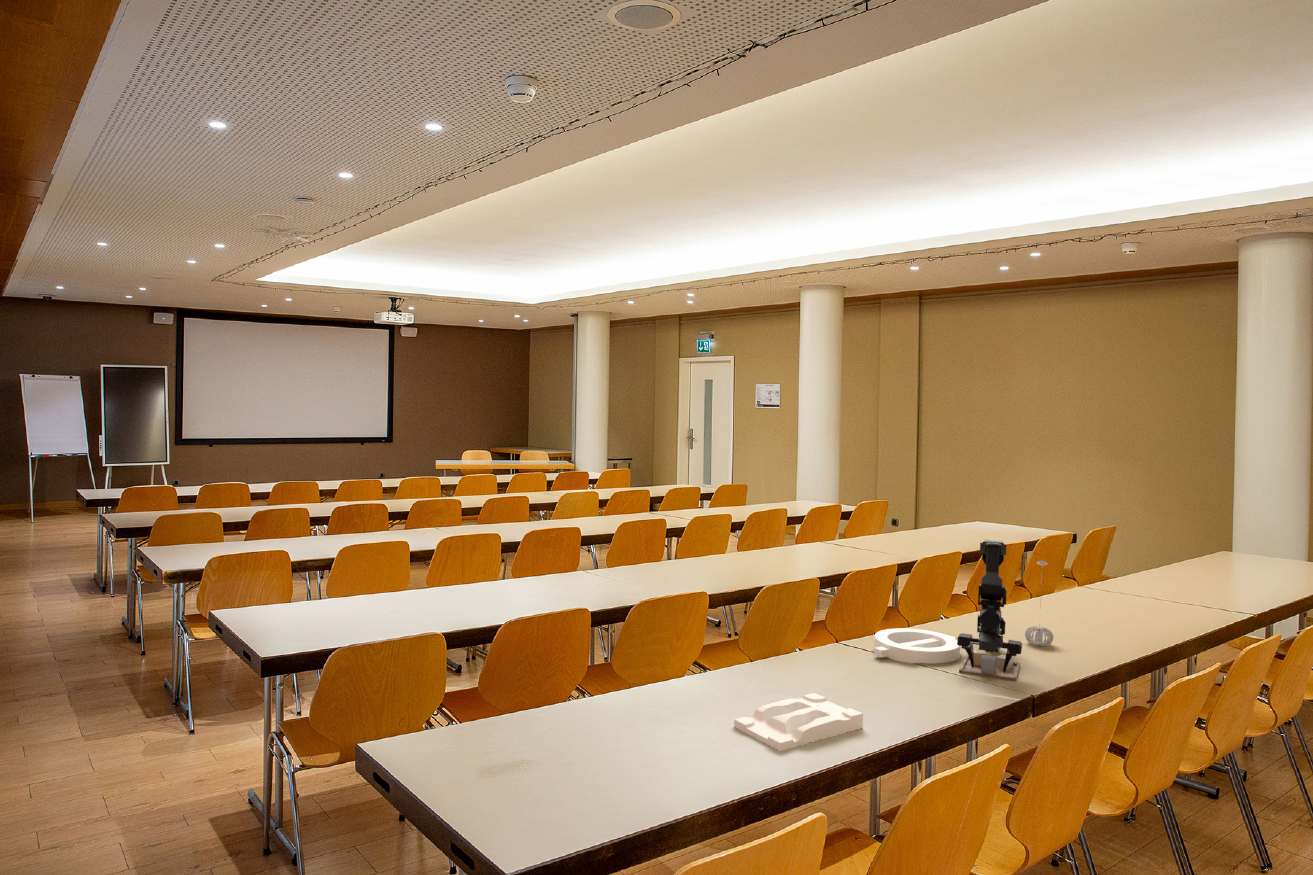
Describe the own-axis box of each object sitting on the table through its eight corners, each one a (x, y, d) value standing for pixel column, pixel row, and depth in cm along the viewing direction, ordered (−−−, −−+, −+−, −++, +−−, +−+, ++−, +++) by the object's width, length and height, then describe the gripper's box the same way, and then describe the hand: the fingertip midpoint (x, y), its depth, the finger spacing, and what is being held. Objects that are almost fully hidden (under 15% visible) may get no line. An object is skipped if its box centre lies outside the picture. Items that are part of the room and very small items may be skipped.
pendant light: (1056, 649, 295) (1059, 564, 294) (1028, 647, 297) (1031, 563, 296) (1049, 641, 304) (1052, 559, 303) (1022, 639, 306) (1025, 558, 305)
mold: (863, 730, 218) (863, 712, 218) (780, 753, 202) (781, 734, 202) (813, 708, 234) (814, 692, 233) (733, 728, 217) (733, 711, 217)
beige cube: (1002, 664, 274) (1002, 654, 274) (1012, 667, 271) (1013, 656, 271) (995, 667, 271) (996, 656, 271) (1006, 670, 268) (1007, 659, 268)
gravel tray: (966, 658, 281) (966, 655, 281) (1019, 666, 273) (1019, 663, 273) (958, 673, 265) (959, 670, 265) (1015, 682, 257) (1015, 678, 257)
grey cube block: (982, 669, 268) (983, 654, 268) (995, 671, 266) (996, 656, 266) (980, 674, 263) (981, 658, 263) (994, 676, 262) (994, 660, 261)
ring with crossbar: (956, 645, 298) (956, 632, 297) (962, 669, 271) (963, 655, 270) (874, 638, 305) (875, 625, 305) (873, 660, 278) (873, 646, 278)
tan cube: (969, 661, 277) (970, 649, 277) (984, 662, 276) (984, 650, 276) (971, 664, 273) (972, 652, 273) (986, 665, 272) (986, 653, 272)
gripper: (955, 623, 261) (953, 672, 262) (1020, 631, 253) (1018, 682, 253) (960, 615, 271) (958, 662, 272) (1023, 623, 263) (1021, 672, 263)
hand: (988, 670), depth 265 cm, fingers open, 9 cm apart
